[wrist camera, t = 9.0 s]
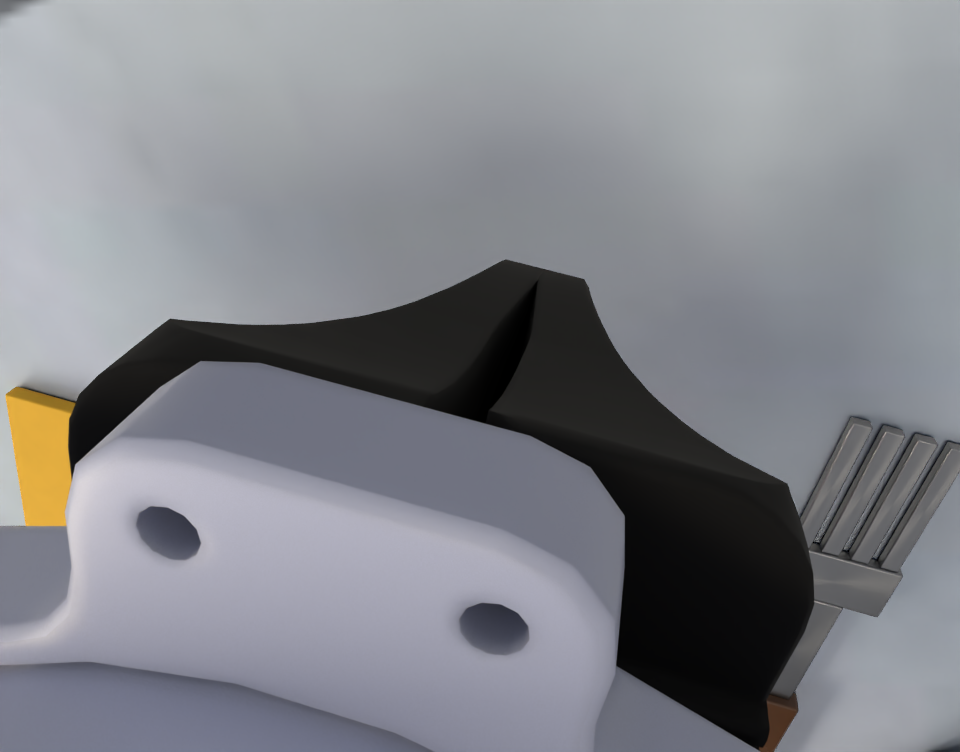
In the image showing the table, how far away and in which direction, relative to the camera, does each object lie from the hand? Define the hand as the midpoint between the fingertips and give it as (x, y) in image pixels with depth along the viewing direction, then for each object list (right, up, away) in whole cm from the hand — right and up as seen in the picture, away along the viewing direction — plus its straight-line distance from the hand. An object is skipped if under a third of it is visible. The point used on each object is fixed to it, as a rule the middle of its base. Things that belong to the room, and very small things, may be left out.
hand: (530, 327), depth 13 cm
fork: (+6, -9, +7) cm, 12 cm away
